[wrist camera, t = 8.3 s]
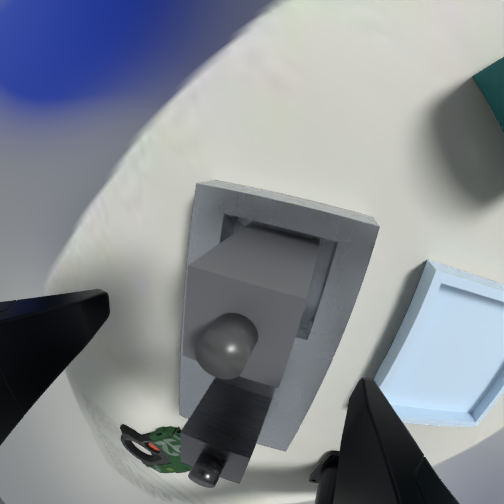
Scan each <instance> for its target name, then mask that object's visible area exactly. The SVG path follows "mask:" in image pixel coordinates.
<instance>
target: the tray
mask: <svg viewBox="0 0 504 504" xmlns="http://www.w3.org/2000/svg"><path fill="white" fill-rule="evenodd" d="M373 380H374V381H375V382H376V384H377V385H378V387H379V388H380V389H381V391H382V392H383V394H384V395H385V397H386V398H387V400H388V401H389V403H390V404H391V406H392V407H393V409H394V410H395V412H396V413H397V415H398V416H399V418H400V419H401V421H402V422H403V423H412V424H423V425H436V426H455V427H476V426H477V425H478V424H479V423H480V421H481V420H482V419H483V418H484V417H485V416H486V414H487V413H488V412H489V411H490V409H491V408H492V407H493V406H494V404H495V403H496V402H497V400H498V399H499V398H500V396H501V395H502V394H503V392H504V285H503V284H500V283H498V282H495V281H492V280H489V279H486V278H483V277H480V276H477V275H474V274H471V273H468V272H465V271H462V270H459V269H456V268H452V267H449V266H446V265H443V264H440V263H437V262H433V261H430V260H427V262H426V265H425V268H424V270H423V273H422V276H421V279H420V281H419V284H418V286H417V289H416V291H415V294H414V296H413V299H412V301H411V304H410V306H409V308H408V311H407V313H406V315H405V317H404V320H403V322H402V324H401V326H400V328H399V330H398V333H397V335H396V337H395V339H394V341H393V343H392V345H391V347H390V349H389V351H388V353H387V355H386V357H385V358H384V360H383V362H382V364H381V366H380V368H379V370H378V371H377V373H376V375H375V377H374V379H373Z"/></svg>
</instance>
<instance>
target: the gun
mask: <svg viewBox="0 0 504 504" xmlns="http://www.w3.org/2000/svg"><path fill="white" fill-rule="evenodd" d="M120 429H121V431H122V436H121V441H122V443H123V445H124V447H125V448H126V449H127V450H128V451H129V452H130V453H131V454H132V455H134V456H135V457H136V458H138V459H140V460H141V461H142V463H143V464H145V465H146V466H147V467H150V468H153V469H154V470H156V471H158V472H160V473H174V472H176V473H183V472H186V471H191V469H192V468H193V467H192V466H190V465H188V464H185V463H183V462H181V447H180V432H181V430H180V428H179V427H178V428H175V427H172V426H170V427H161V428H158V429H157V431H154V432H152V433H147V434H142V435H141V434H139V433H138V432H136V431H135V430H133V429H131V428H130V427H128V426H126V425H124V424H122V425H121V427H120ZM132 441H134V442H136V443H138V444H139V445H141V446H142V447H144V448H145V449H147V450H148V451H150V452H151V454H152V455H148V454H146V453H144V452H142V451H140V450H139V449H138V448H137V447H135V446H134V444H133V443H132Z"/></svg>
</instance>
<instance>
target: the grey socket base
mask: <svg viewBox="0 0 504 504" xmlns="http://www.w3.org/2000/svg"><path fill="white" fill-rule="evenodd" d="M248 224H253V225H257V226H261V227H265V228H269V229H274V230H278V231H282V232H286V233H290V234H294V235H298V236H302V237H306V238H310V239H314V240H318V241H320V245H319V249H318V254H317V258H316V263H315V267H314V272H313V276H312V280H311V284H310V289H309V293H308V297H307V301H306V304H305V307H304V311H303V314H302V318H301V321H300V324H299V328H298V331H297V334H296V337H295V340H294V344H293V347H292V350H291V353H290V356H289V359H288V362H287V365H286V368H285V371H284V374H283V377H282V380H281V383H280V386H279V388H276V387H272V386H269V385H266V384H262V383H259V382H256V381H253V380H249V379H246V378H243V377H240V376H238V377H236V378H233V379H220V378H217V377H214V376H212V375H210V374H209V373H207V372H206V371H205V370H204V369H203V368H202V367H201V366H200V365H199V363H198V362H197V361H195V360H193V359H190V358H188V357H185V356H183V334H184V316H185V300H186V286H187V274H188V265H189V264H191V263H192V262H194V261H195V260H197V259H198V258H199V257H201V256H202V255H204V254H205V253H207V252H208V251H210V250H211V249H212V248H214V247H215V246H217V245H218V244H220V243H221V242H223V241H224V240H225V239H227V238H228V237H230V236H231V235H233V234H234V233H236V232H237V231H239V230H240V229H242V228H243V227H245V226H246V225H248ZM378 231H379V225H378V224H377V222H376V221H375V220H374V218H373V217H370V216H367V215H363V214H360V213H356V212H352V211H349V210H345V209H341V208H337V207H334V206H330V205H326V204H322V203H318V202H314V201H310V200H306V199H302V198H297V197H293V196H289V195H285V194H280V193H276V192H271V191H267V190H262V189H257V188H253V187H248V186H243V185H238V184H233V183H228V182H223V181H218V180H214V181H207V182H201V183H196V189H195V196H194V204H193V212H192V220H191V229H190V238H189V247H188V257H187V268H186V279H185V291H184V305H183V320H182V338H181V362H180V415H181V416H183V417H185V418H188V419H189V420H188V421H187V423H186V424H185V426H184V427H183V429H182V431H181V432H180V447H181V462H183V463H185V464H188V465H190V466H192V467H193V468H192V469H191V471H190V473H189V475H188V477H189V478H190V479H191V480H192V481H193V482H195V483H197V484H199V485H201V486H204V487H208V488H213V487H215V485H216V483H217V481H218V479H219V477H221V478H224V479H227V480H230V481H233V482H236V483H240V481H241V479H242V477H243V474H244V472H245V470H246V467H247V465H248V463H249V460H250V458H251V455H252V453H253V450H254V448H255V445H256V443H257V444H260V445H263V446H267V447H271V448H274V449H278V450H282V451H286V450H287V449H288V447H289V445H290V443H291V442H292V440H293V438H294V436H295V434H296V433H297V431H298V429H299V427H300V425H301V423H302V421H303V420H304V418H305V416H306V414H307V412H308V410H309V408H310V406H311V404H312V402H313V400H314V398H315V396H316V394H317V392H318V390H319V388H320V385H321V383H322V381H323V379H324V377H325V375H326V373H327V370H328V368H329V366H330V364H331V361H332V359H333V357H334V355H335V352H336V350H337V348H338V345H339V343H340V340H341V338H342V335H343V333H344V331H345V328H346V326H347V323H348V320H349V318H350V315H351V313H352V310H353V307H354V305H355V302H356V299H357V296H358V293H359V291H360V288H361V285H362V282H363V279H364V276H365V273H366V270H367V267H368V264H369V261H370V258H371V254H372V251H373V248H374V245H375V241H376V238H377V234H378Z"/></svg>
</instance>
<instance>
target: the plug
mask: <svg viewBox="0 0 504 504" xmlns="http://www.w3.org/2000/svg"><path fill="white" fill-rule="evenodd" d="M319 245H320V241H318V240H314V239H310V238H306V237H302V236H298V235H294V234H290V233H286V232H282V231H278V230H274V229H269V228H265V227H261V226H257V225H253V224H248V225H246V226H245V227H243V228H242V229H240V230H239V231H237V232H236V233H234V234H233V235H231V236H230V237H228V238H227V239H225V240H224V241H223V242H221V243H220V244H218V245H217V246H215V247H214V248H212V249H211V250H210V251H208V252H207V253H205V254H204V255H202V256H201V257H199V258H198V259H197V260H195V261H194V262H192V263H191V264H189V265H188V274H187V286H186V300H185V316H184V334H183V356H185V357H188V358H190V359H193V360H195V361H197V362H198V363H199V365H200V366H201V367H202V368H203V369H204V370H205V371H206V372H207V373H209V374H210V375H212V376H214V377H217V378H220V379H233V378H236V377H238V376H240V377H243V378H246V379H249V380H253V381H256V382H259V383H262V384H266V385H269V386H272V387H276V388H279V386H280V383H281V380H282V377H283V374H284V371H285V368H286V365H287V362H288V359H289V356H290V353H291V350H292V347H293V344H294V340H295V337H296V334H297V331H298V328H299V324H300V321H301V318H302V314H303V311H304V307H305V304H306V301H307V297H308V293H309V289H310V284H311V280H312V276H313V272H314V267H315V263H316V258H317V254H318V249H319Z"/></svg>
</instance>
